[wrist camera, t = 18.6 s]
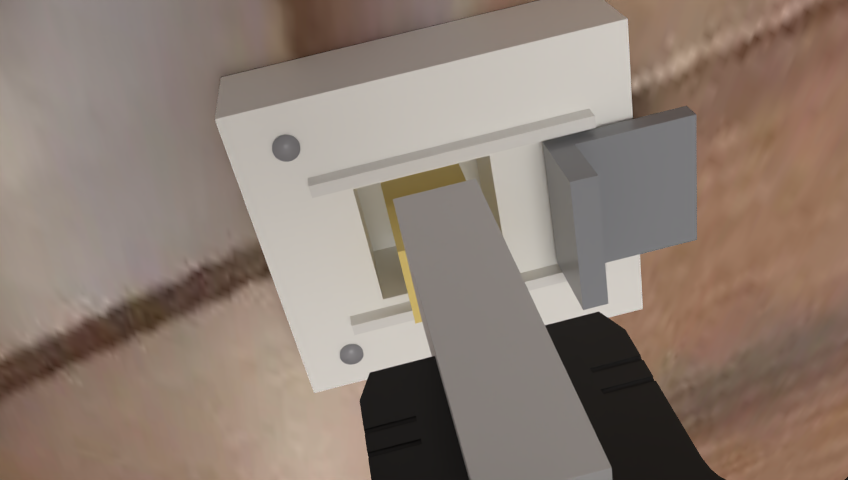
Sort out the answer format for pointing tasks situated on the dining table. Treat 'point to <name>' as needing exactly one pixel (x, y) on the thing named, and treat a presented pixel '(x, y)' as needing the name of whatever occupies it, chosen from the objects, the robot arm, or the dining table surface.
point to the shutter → (621, 195)
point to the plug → (408, 187)
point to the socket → (418, 164)
